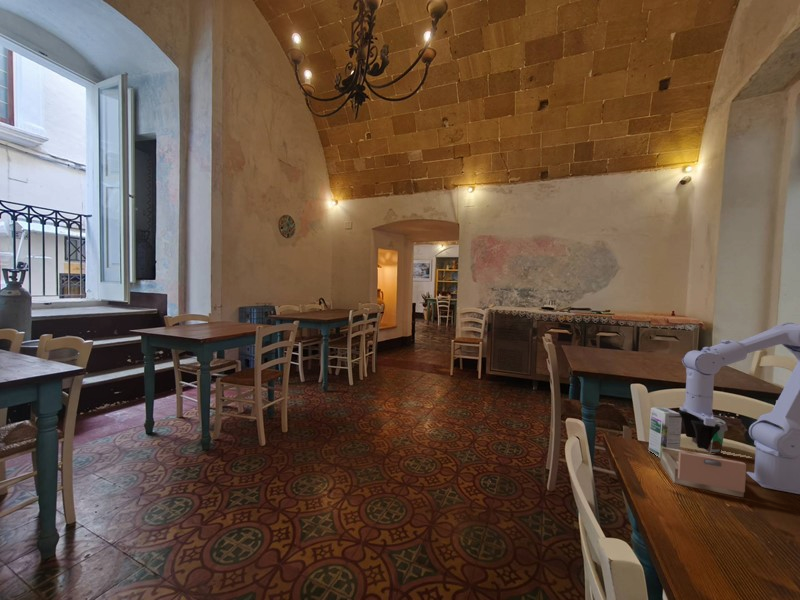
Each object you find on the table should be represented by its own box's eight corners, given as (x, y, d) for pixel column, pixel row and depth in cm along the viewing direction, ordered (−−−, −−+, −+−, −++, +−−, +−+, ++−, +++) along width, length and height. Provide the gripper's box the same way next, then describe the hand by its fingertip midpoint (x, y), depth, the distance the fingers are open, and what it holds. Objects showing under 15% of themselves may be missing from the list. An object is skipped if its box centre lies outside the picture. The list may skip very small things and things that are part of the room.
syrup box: (647, 451, 109) (649, 406, 108) (664, 451, 109) (666, 407, 109) (662, 460, 103) (664, 413, 103) (680, 460, 104) (682, 413, 103)
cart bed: (720, 474, 96) (721, 456, 96) (743, 497, 85) (744, 477, 85) (660, 463, 101) (661, 446, 101) (674, 483, 90) (675, 465, 90)
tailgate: (742, 489, 85) (743, 462, 84) (746, 494, 83) (747, 466, 83) (677, 477, 90) (678, 451, 90) (680, 481, 88) (681, 454, 88)
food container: (736, 458, 106) (738, 427, 105) (713, 456, 107) (715, 425, 107) (709, 441, 118) (710, 413, 117) (689, 439, 119) (690, 411, 119)
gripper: (671, 385, 102) (669, 430, 103) (692, 399, 89) (689, 450, 89) (701, 389, 100) (698, 434, 100) (726, 403, 86) (723, 456, 87)
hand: (696, 442), depth 95 cm, fingers open, 7 cm apart
